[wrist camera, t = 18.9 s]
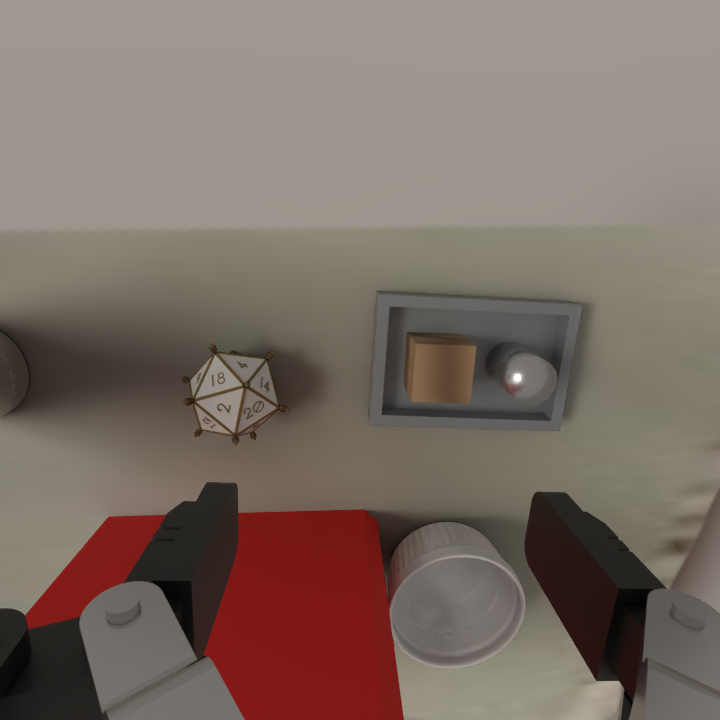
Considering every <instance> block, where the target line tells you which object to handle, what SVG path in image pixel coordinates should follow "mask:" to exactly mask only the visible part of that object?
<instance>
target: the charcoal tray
mask: <svg viewBox="0 0 720 720" xmlns="http://www.w3.org/2000/svg"><path fill="white" fill-rule="evenodd" d="M582 306H583V305H581V304H577V303H574V302H570V301H554V300H535V299H516V298H497V297H477V296H458V295H439V294H420V293H400V292H381V291H376V305H375V321H374V336H373V351H372V367H371V382H370V397H369V413H368V415H369V421H370V425H389V426H418V427H447V428H476V429H505V430H533V431H560V427H561V421H562V416H563V410H564V405H565V400H566V394H567V389H568V383H569V378H570V372H571V367H572V361H573V356H574V350H575V345H576V339H577V334H578V328H579V323H580V317H581V312H582ZM407 332H421V333H449V334H461V335H463V336H464V337H465V338H467V339H468V340H469V341H471V342H472V343H473V344H475V345H476V346H477V347H476V356H475V364H474V373H473V382H472V391H471V399H470V404H465V403H429V402H411V400H410V398H409V396H408V393H407V391H406V389H405V387H404V385H403V379H404V365H405V351H406V338H407ZM504 342H513V343H516V344H518V345H520V346H522V347H523V348H525V349H527V350H528V351H530V352H532V353H534V354H535V355H537V356H539V357H540V358H542V359H544V360H546V361H547V362H549V363H550V364H551V365H552V366H553V367H554V369H555V371H556V374H557V384H556V388H555V390H554V392H553V393H552V395H551V396H550V397H549V398H548V399H546V400H545V401H543V402H542V403H539V404H536V405H525V404H522V403H519V402H518V401H516V400H515V399H514V398H513V397H512V396H511V395H510V394H509V393H507V392H506V391H505V390H504V389H503V388H502V387H501V386H500V385H499V384H498V383H497V382H495V381H494V380H493V379H492V378H491V377H490V376H489V374H488V372H487V370H486V359H487V356H488V354H489V352H490V351H491V350H492V349H493V348H494V347H495V346H497V345H499V344H501V343H504Z"/></svg>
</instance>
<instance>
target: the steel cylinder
mask: <svg viewBox="0 0 720 720" xmlns="http://www.w3.org/2000/svg"><path fill="white" fill-rule="evenodd" d="M486 370H487V372H488V374H489V376H490V377H491V378H492V379H493V380H494V381H495V382H497V383H498V384H499V385H500V386H501V387H502V388H503V389H504V390H505V391H506V392H507V393H509V394H510V395H511V396H512V397H513V398H514V399H515V400H516V401H518V402H519V403H522V404H525V405H536V404H539V403H542V402H543V401H545V400H546V399H548V398H549V397H550V396H551V395H552V393H553V392H554V390H555V388H556V384H557V374H556V371H555V369H554V367H553V366H552V365H551V364H550V363H549V362H547V361H546V360H544V359H542V358H540V357H539V356H537V355H535V354H534V353H532V352H530V351H528V350H527V349H525V348H523V347H522V346H520V345H518V344H516V343H513V342H504V343H501V344H499V345H497V346H495V347H494V348H493V349H492V350H491V351H490V352H489V354H488V356H487V359H486Z"/></svg>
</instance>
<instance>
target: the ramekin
mask: <svg viewBox="0 0 720 720" xmlns="http://www.w3.org/2000/svg"><path fill="white" fill-rule="evenodd" d="M387 599H388V606H389V614H390V621H391V629H392V636H393V639H394V641H395V642H396V644H397V645H398V647H399V648H400V649H401V650H402V651H403V652H404V653H405V654H406V655H407V656H409V657H410V658H412V659H413V660H415V661H417V662H419V663H421V664H425V665H427V666H431V667H436V668H444V669H453V668H463V667H468V666H472V665H475V664H478V663H481V662H483V661H486V660H488V659H490V658H491V657H493V656H495V655H496V654H498V653H499V652H501V651H502V650H503V649H504V648H505V647H507V646H508V645H509V644H510V643H511V641H512V640H513V639H514V638H515V636H516V635H517V633H518V632H519V630H520V628H521V626H522V623H523V621H524V617H525V611H526V599H525V594H524V591H523V588H522V586H521V584H520V582H519V579H518V577H517V576H516V574H515V572H514V571H513V569H512V568H511V567H510V566H509V565H508V564H507V563H506V562H505V561H504V560H503V559H502V557H501V556H500V555H499V553H498V552H497V550H496V549H495V548H494V546H493V545H492V544H491V543H490V542H489V540H488V539H487V538H486V537H485V536H483V535H482V534H481V533H480V532H478V531H477V530H475V529H474V528H471V527H469V526H467V525H464V524H461V523H455V522H438V523H432V524H429V525H426V526H423V527H421V528H419V529H417V530H415V531H413V532H412V533H411V534H409V535H408V536H407V537H406V538H405V539H403V541H402V542H401V543H400V544H399V545H398V547H397V549H396V550H395V552H394V554H393V556H392V558H391V562H390V565H389V572H388V598H387Z"/></svg>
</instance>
